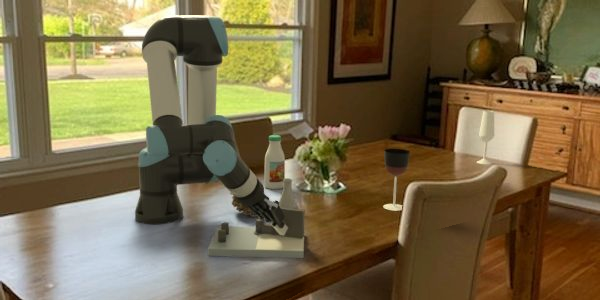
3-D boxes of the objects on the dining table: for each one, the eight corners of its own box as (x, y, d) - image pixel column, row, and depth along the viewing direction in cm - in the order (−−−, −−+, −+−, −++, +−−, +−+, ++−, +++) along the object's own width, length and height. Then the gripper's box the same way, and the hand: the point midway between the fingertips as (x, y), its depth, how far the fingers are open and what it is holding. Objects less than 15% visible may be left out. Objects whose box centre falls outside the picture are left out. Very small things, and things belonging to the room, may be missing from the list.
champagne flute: (475, 163, 274) (480, 111, 269) (477, 160, 280) (481, 109, 275) (490, 165, 271) (495, 112, 266) (492, 161, 277) (497, 110, 272)
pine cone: (223, 212, 199) (222, 183, 197) (245, 206, 206) (245, 178, 204) (266, 229, 184) (267, 198, 182) (289, 222, 191) (289, 192, 188)
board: (208, 255, 163) (207, 238, 162) (218, 232, 180) (217, 216, 179) (304, 258, 162) (304, 240, 161) (304, 234, 180) (305, 218, 179)
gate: (254, 231, 174) (254, 205, 172) (257, 229, 176) (257, 203, 175) (301, 238, 169) (302, 212, 168) (304, 236, 172) (305, 209, 170)
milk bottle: (261, 188, 227) (262, 137, 223) (267, 183, 235) (268, 133, 230) (281, 190, 225) (282, 138, 221) (286, 185, 233) (287, 134, 228)
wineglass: (386, 202, 213) (389, 147, 209) (409, 206, 209) (413, 150, 205) (377, 207, 207) (380, 151, 202) (401, 212, 202) (404, 154, 198)
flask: (295, 211, 201) (296, 183, 199) (274, 209, 203) (274, 181, 201) (299, 205, 208) (300, 177, 206) (279, 203, 210) (280, 176, 208)
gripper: (219, 193, 155) (260, 237, 172) (257, 203, 148) (296, 247, 164) (233, 170, 158) (272, 215, 175) (271, 178, 151) (308, 224, 167)
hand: (284, 231), depth 170 cm, fingers closed
